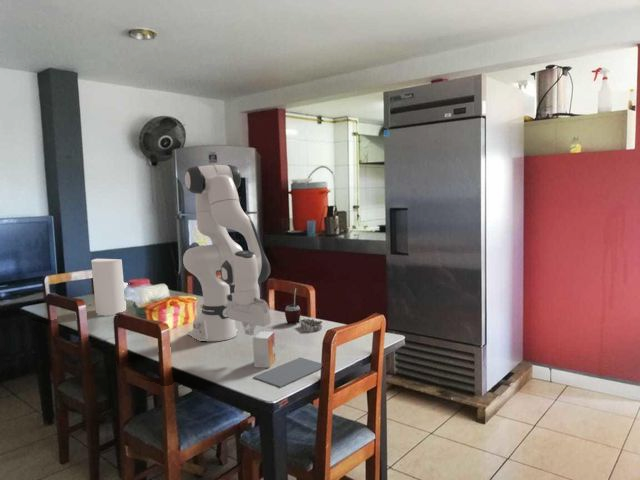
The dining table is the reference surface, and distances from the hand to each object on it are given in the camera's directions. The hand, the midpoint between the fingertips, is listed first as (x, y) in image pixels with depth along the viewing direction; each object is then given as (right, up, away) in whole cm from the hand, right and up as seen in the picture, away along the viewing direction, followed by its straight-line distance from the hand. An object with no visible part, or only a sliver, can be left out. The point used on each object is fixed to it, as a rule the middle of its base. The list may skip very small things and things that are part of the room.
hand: (249, 334), depth 176 cm
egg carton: (+21, -5, +36) cm, 42 cm away
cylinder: (-83, -4, +81) cm, 116 cm away
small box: (+6, -10, -4) cm, 12 cm away
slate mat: (+16, -10, -13) cm, 23 cm away
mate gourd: (+13, -4, +46) cm, 48 cm away
